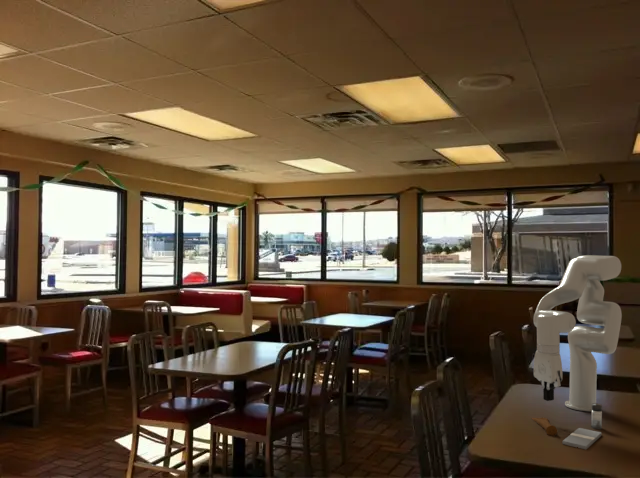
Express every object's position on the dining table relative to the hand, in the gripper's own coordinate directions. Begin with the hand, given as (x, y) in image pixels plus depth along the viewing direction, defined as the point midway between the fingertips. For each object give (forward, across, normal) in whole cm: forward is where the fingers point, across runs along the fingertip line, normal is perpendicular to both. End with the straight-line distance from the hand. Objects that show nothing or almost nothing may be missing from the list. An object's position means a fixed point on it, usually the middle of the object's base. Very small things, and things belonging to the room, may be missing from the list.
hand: (548, 399), depth 204 cm
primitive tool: (+8, +4, -6) cm, 11 cm away
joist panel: (+7, +19, -3) cm, 21 cm away
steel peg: (+8, +10, +11) cm, 17 cm away
